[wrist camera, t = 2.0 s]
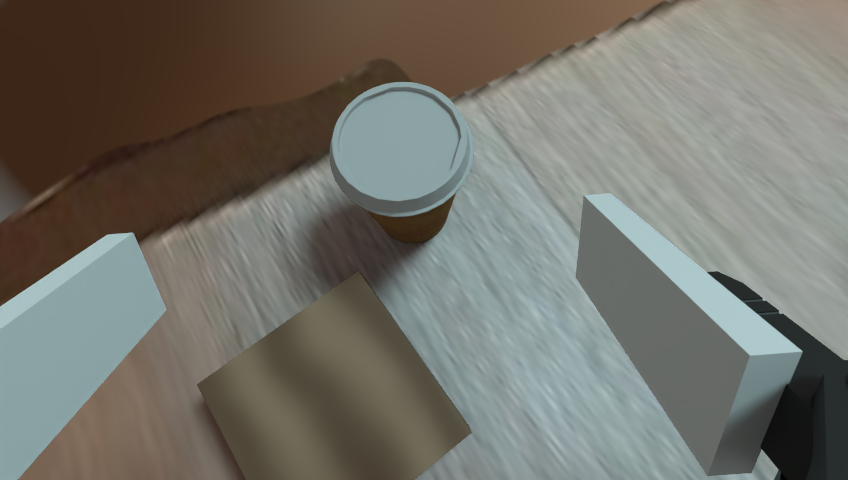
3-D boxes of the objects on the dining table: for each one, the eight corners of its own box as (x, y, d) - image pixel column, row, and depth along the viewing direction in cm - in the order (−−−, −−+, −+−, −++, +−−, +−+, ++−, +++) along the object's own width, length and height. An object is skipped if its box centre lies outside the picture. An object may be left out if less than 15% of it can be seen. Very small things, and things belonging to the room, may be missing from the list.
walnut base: (367, 281, 36) (358, 270, 32) (468, 425, 32) (471, 432, 28) (224, 383, 34) (196, 384, 30) (314, 550, 30) (295, 575, 26)
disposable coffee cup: (410, 283, 36) (394, 240, 24) (339, 209, 38) (294, 139, 27) (488, 210, 37) (507, 137, 26) (415, 144, 40) (403, 51, 28)
